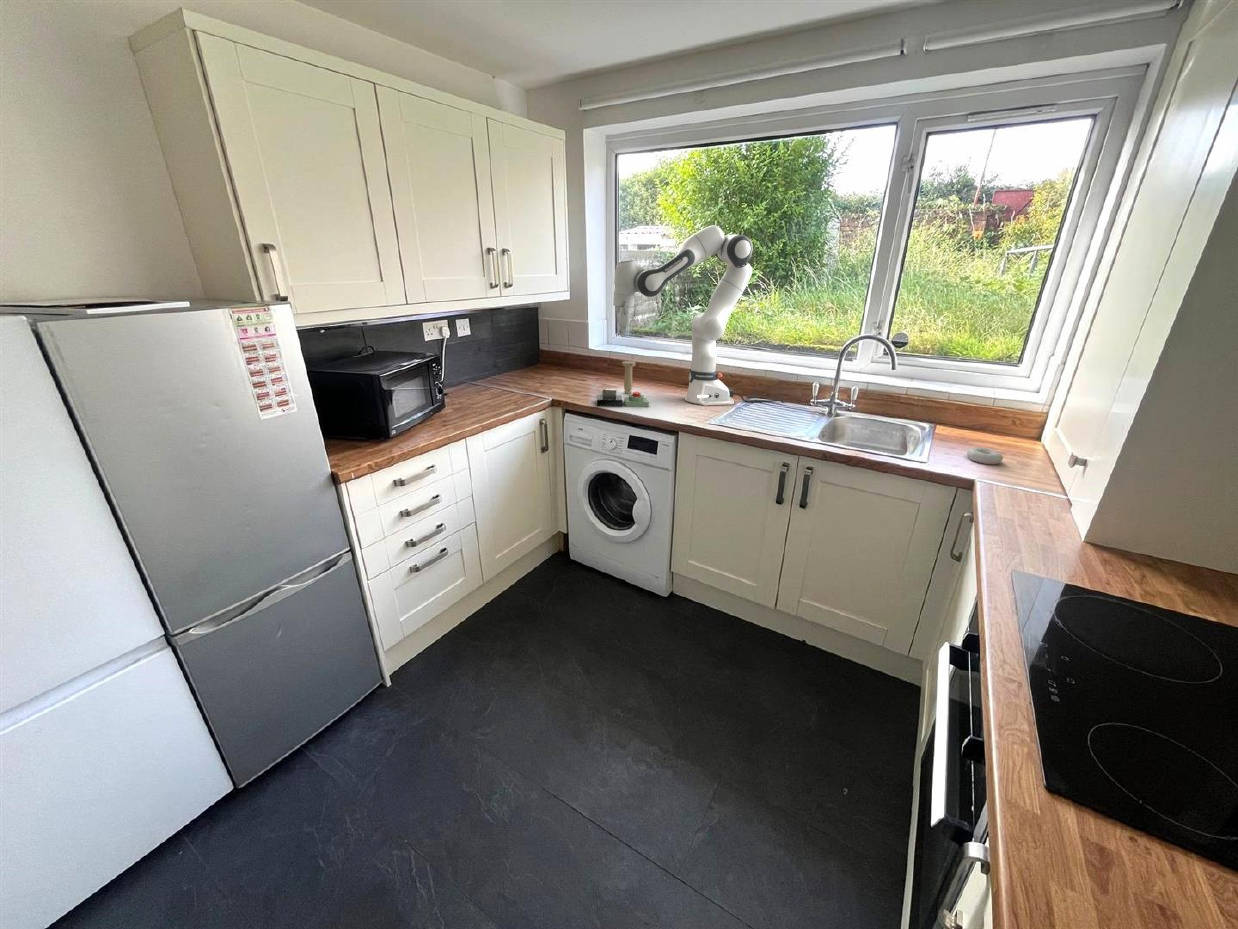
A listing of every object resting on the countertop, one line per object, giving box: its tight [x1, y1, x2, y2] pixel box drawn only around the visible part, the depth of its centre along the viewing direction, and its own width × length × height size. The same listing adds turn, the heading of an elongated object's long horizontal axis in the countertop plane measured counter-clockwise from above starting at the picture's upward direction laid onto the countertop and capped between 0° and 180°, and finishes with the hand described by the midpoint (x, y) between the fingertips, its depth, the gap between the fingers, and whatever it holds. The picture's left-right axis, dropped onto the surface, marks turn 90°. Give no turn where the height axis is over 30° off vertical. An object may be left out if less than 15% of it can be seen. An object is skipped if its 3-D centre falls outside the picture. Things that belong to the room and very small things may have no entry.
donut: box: [966, 447, 1004, 465], centre depth 167 cm, size 10×4×10 cm
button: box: [631, 391, 642, 397], centre depth 220 cm, size 4×4×2 cm
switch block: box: [623, 393, 649, 408], centre depth 221 cm, size 10×8×4 cm
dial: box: [602, 388, 617, 398], centre depth 219 cm, size 6×2×4 cm, turn 94°
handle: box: [621, 360, 637, 395], centre depth 238 cm, size 5×6×15 cm
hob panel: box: [596, 394, 623, 408], centre depth 220 cm, size 11×10×3 cm
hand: (621, 335), depth 214 cm, fingers open, 8 cm apart
